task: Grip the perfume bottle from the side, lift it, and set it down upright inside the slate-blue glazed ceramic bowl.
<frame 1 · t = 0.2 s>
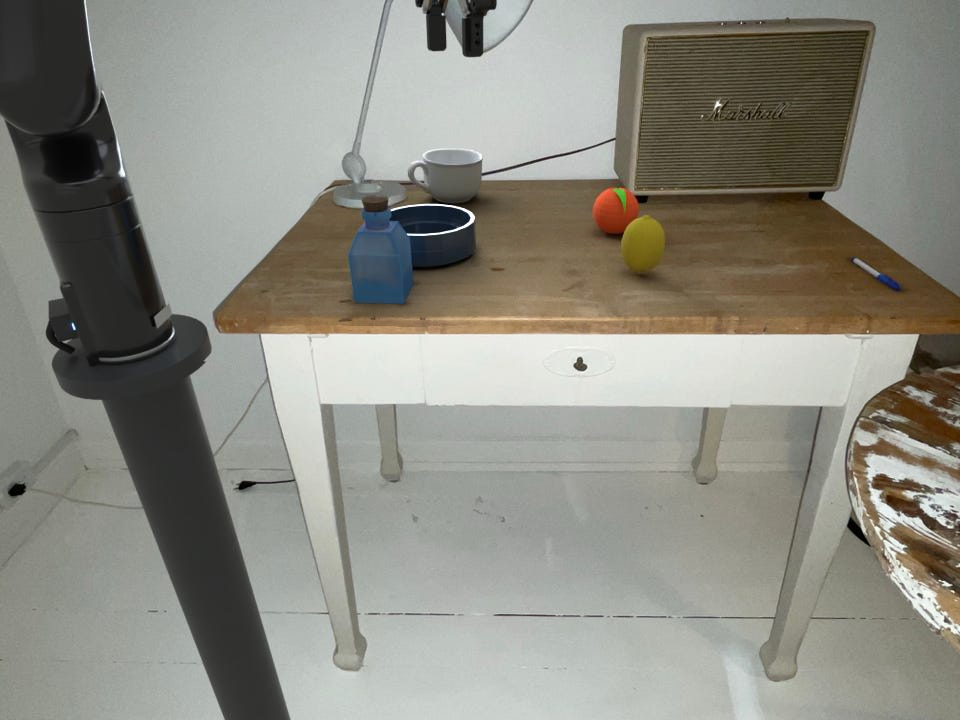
hand: (454, 53, 71), 27 cm above the table, tool pointing down, fingers open, 8 cm apart
bowl: (426, 252, 92), on the table
perfume bottle: (384, 294, 80), on the table
lemon: (639, 275, 84), on the table
teacup: (445, 201, 115), on the table
blue and white marker: (872, 277, 83), on the table
clementine: (614, 235, 98), on the table
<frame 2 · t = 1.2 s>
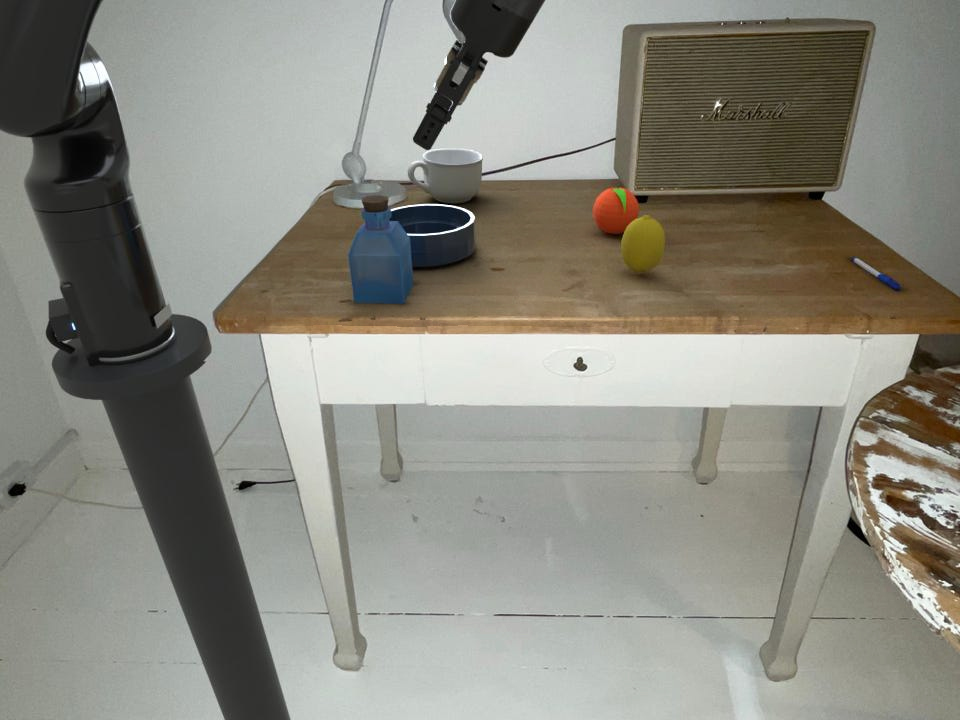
hand: (428, 130, 71), 19 cm above the table, tool tilted 35°, fingers open, 8 cm apart
nothing on the table moved.
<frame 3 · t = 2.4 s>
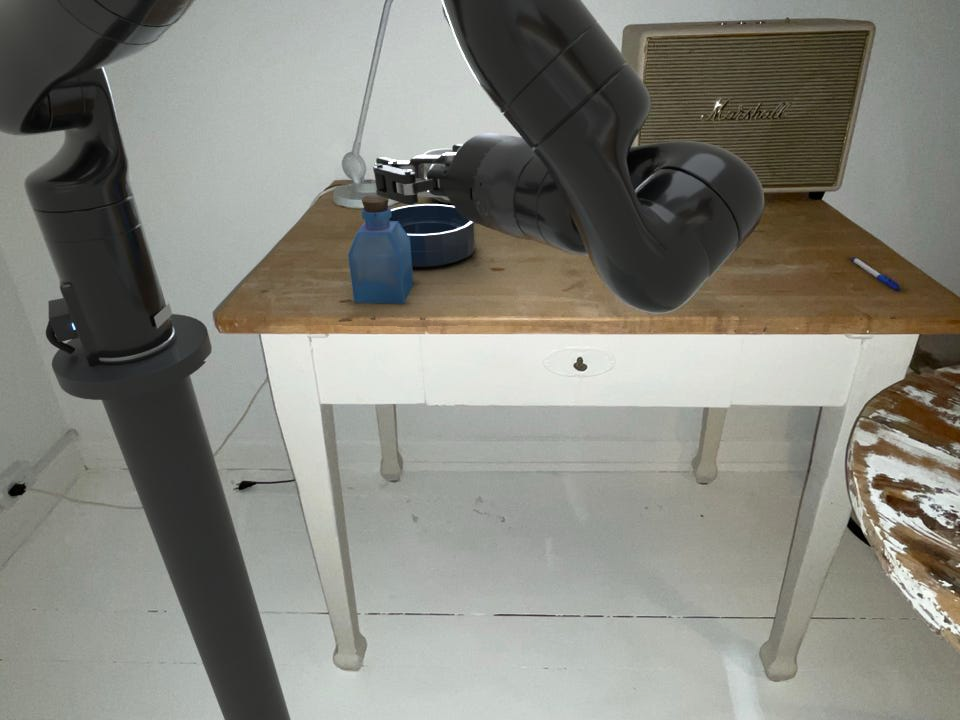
hand: (418, 161, 63), 18 cm above the table, tool horizontal, fingers open, 8 cm apart
nothing on the table moved.
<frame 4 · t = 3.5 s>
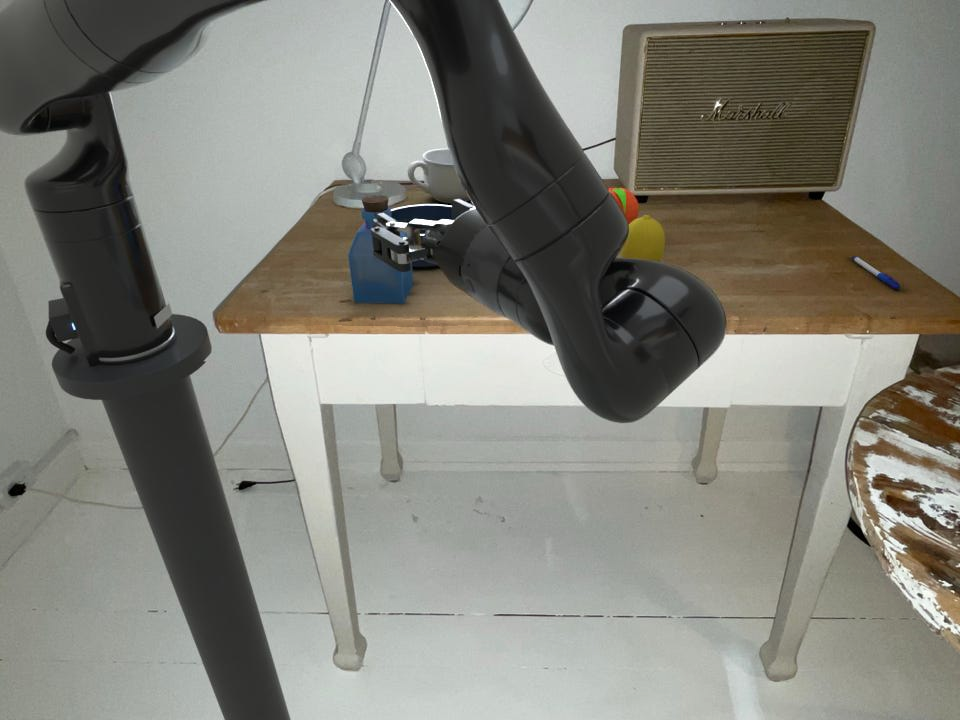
hand: (418, 215, 65), 13 cm above the table, tool horizontal, fingers open, 8 cm apart
nothing on the table moved.
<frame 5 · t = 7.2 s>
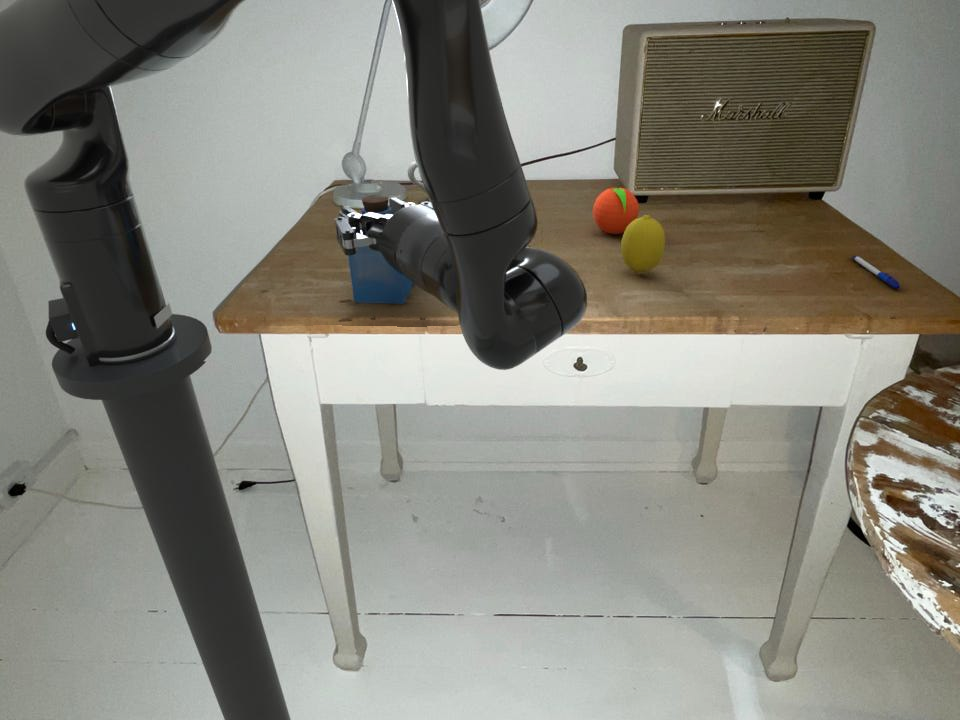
hand: (368, 210, 77), 10 cm above the table, tool horizontal, fingers closed on perfume bottle, 5 cm apart
perfume bottle: (384, 294, 80), on the table, touching gripper
everything else where it was.
when the fingers open (11 cm above the table, at t = 13.3 s): perfume bottle stays where it is, resting on bowl.
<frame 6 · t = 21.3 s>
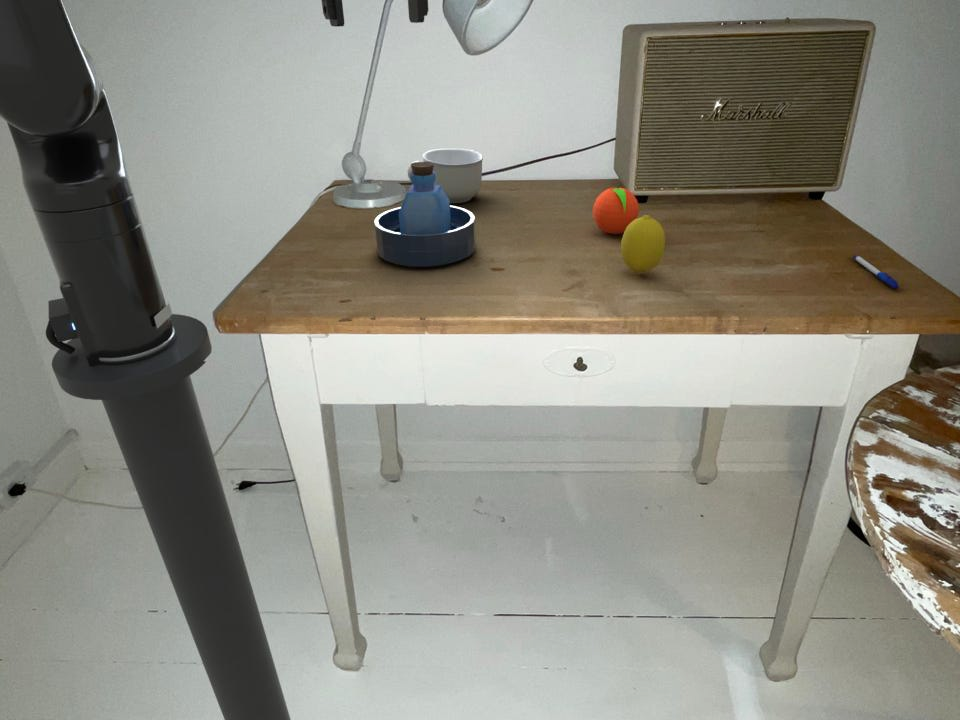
hand: (378, 24, 63), 30 cm above the table, tool pointing down, fingers open, 8 cm apart
perfume bottle: (427, 249, 92), resting on bowl
everything else where it was.
at the end: perfume bottle 0.2 cm off-centre in the bowl, point 0.4 cm above the bowl's base; perfume bottle tilted 0°; the gripper is holding nothing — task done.
